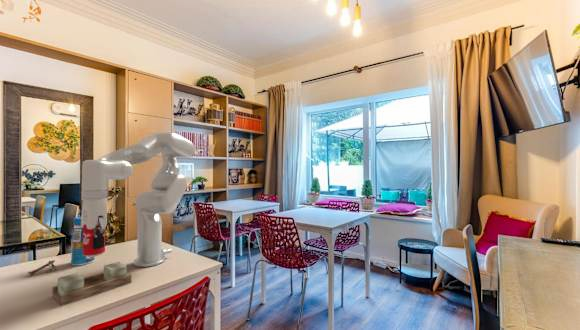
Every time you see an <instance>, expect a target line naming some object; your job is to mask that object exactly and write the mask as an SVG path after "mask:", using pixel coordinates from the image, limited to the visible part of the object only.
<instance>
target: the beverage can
mask: <svg viewBox="0 0 580 330" xmlns="http://www.w3.org/2000/svg"><path fill="white" fill-rule="evenodd" d="M98 227H99V226H96V227H95V228H98ZM97 231H98V230H96V232H97ZM104 234H105V235H104V247H103V248H98V249H93V237H94V233H93V229H92V230H89V229H87V226H86V224H84V225H83V255H84V256H87V257H93V256H94V257H98V256H101V255H103V254H104V252H106V231H105V232H104Z"/></svg>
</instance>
